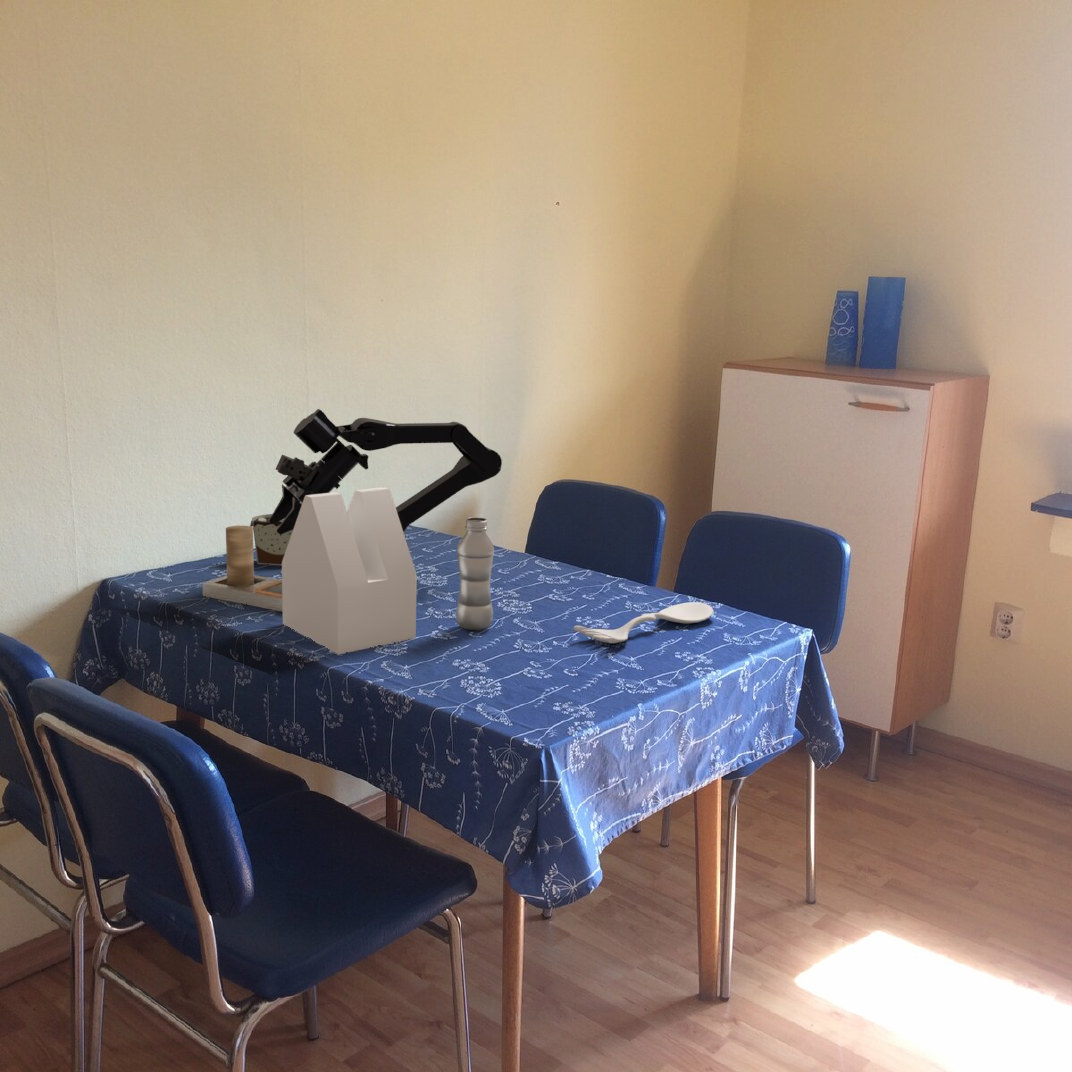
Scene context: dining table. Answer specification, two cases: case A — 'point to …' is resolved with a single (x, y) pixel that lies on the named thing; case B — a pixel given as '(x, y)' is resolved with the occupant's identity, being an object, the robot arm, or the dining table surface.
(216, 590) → the compartment tray
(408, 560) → the white notched block
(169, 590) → the dining table surface
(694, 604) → the spoon
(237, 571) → the wooden peg
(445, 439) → the robot arm
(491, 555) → the plastic bottle
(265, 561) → the food container
